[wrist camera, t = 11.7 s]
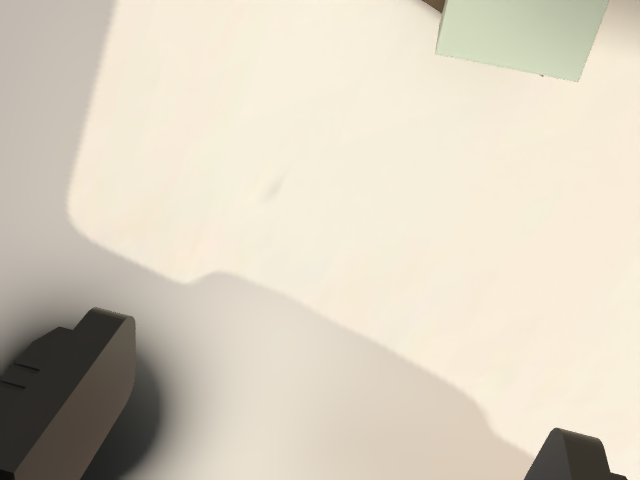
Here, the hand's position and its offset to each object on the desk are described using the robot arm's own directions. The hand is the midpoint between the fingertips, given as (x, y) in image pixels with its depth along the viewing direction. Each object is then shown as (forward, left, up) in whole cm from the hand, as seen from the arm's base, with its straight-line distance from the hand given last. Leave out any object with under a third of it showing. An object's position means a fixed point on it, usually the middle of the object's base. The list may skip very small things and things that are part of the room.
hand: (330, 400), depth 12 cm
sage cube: (-4, -5, -22) cm, 23 cm away
